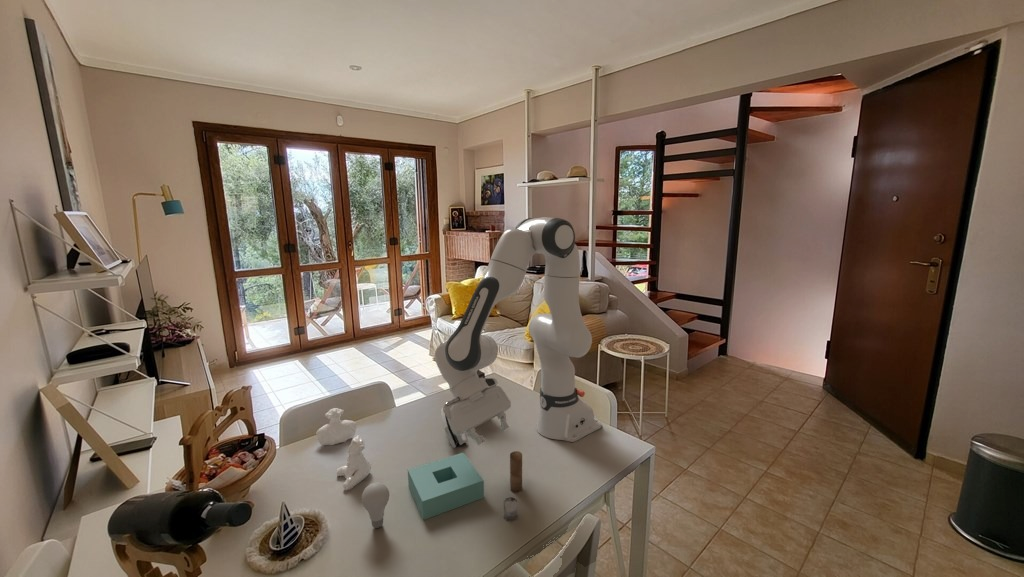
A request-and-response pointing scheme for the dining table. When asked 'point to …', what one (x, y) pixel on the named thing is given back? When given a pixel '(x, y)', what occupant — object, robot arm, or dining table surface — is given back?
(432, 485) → the hole block
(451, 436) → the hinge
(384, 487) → the lightbulb
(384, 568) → the dining table surface
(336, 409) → the bust
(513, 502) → the short metal pin
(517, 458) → the tall walnut pin
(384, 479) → the dining table surface
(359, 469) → the white creature statuette
